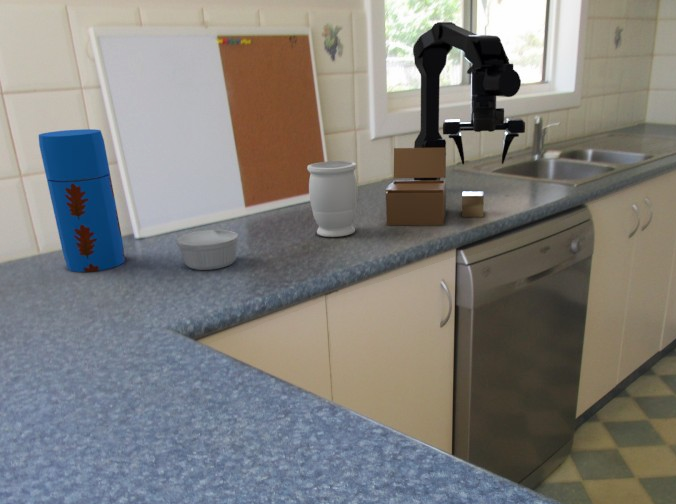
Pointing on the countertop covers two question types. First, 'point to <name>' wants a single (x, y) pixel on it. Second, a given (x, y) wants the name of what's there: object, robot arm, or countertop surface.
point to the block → (472, 204)
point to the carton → (416, 202)
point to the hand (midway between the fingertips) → (482, 163)
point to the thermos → (82, 199)
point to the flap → (419, 162)
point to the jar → (333, 197)
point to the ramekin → (208, 249)
